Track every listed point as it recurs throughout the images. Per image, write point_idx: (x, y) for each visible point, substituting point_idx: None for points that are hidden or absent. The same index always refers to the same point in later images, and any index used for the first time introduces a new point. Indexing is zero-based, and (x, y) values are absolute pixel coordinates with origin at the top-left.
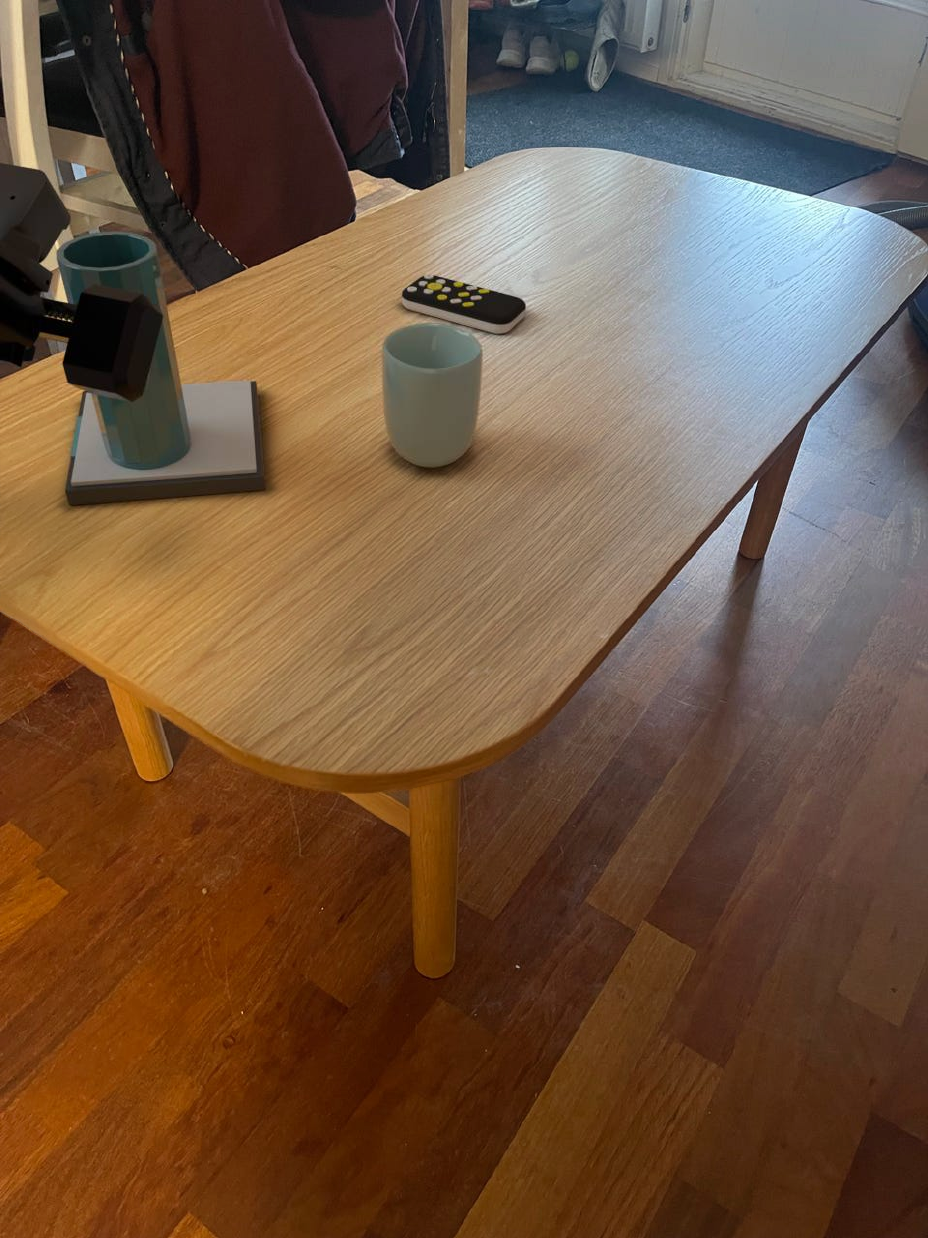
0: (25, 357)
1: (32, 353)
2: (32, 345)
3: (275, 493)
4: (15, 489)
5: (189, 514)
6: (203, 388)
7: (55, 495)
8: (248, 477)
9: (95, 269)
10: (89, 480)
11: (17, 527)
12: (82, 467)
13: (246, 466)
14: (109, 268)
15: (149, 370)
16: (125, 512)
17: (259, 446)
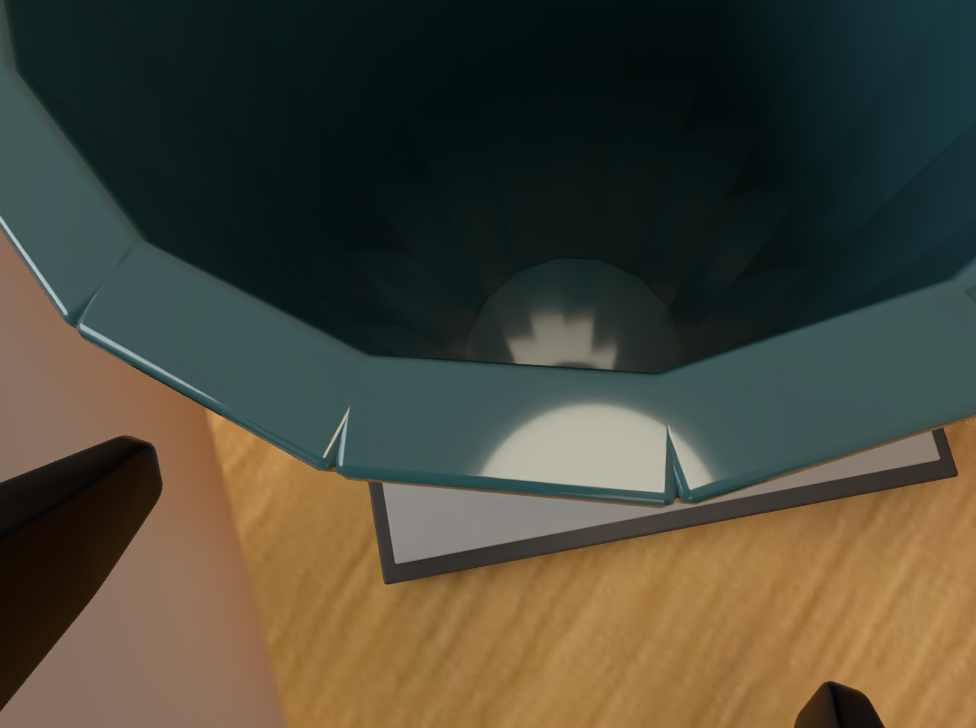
0: (124, 536)
1: (148, 480)
2: (131, 463)
3: (966, 488)
4: (244, 510)
5: (734, 605)
6: None
7: (350, 532)
8: (910, 483)
9: (605, 459)
10: (445, 553)
11: (292, 680)
12: (408, 487)
13: (904, 449)
14: (847, 390)
15: (874, 710)
16: (553, 602)
17: None
